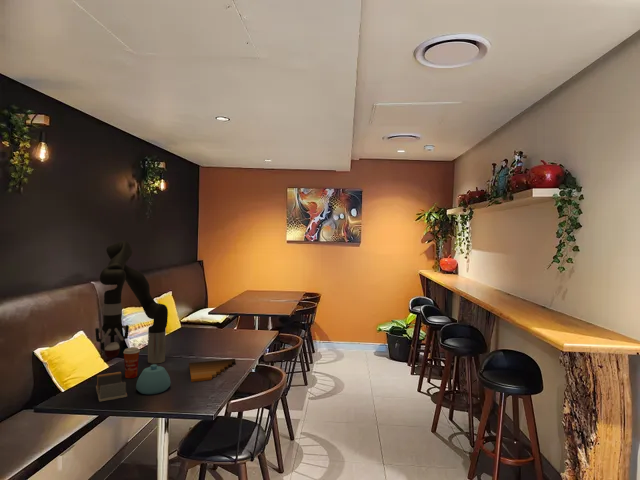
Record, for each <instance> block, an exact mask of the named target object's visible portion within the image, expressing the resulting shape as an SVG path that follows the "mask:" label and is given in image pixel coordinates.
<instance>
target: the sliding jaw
mask: <svg viewBox="0 0 640 480" xmlns="http://www.w3.org/2000/svg"><path fill="white" fill-rule="evenodd" d="M96 378H97V379H96V380H97V381H96V382H97V383H96V385H97V387H100V386H101V385H108V384H114V383H120V382H122V372H121V371H116V372H110V373H103V374H97V377H96Z"/></svg>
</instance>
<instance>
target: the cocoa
mask: <svg viewBox="0 0 640 480" xmlns="http://www.w3.org/2000/svg"><path fill="white" fill-rule="evenodd" d="M115 336H116V335H111V336H109V337H110V341H109V342H110V343H108V344H106V345H104V351H103V352H104V355H105V356H106V357H107V358H108V359H109V358H110V359H111V358H116V357H117V356H118V355H119V354H120V350H121V349H120V348H119V347H120V346H119V341H115V339H116V337H115Z"/></svg>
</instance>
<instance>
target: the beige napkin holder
mask: <svg viewBox="0 0 640 480" xmlns="http://www.w3.org/2000/svg"><path fill="white" fill-rule="evenodd" d="M95 391H96V394H97V398H98V402H104V401H111V400H117V399H121V398H123V399H124V398H126V397H127V398H128V393H127V382H126V381H121V382H120V383H114V384H108V385H101V386H100V387H97V384H96V385H95Z"/></svg>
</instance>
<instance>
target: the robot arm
mask: <svg viewBox="0 0 640 480" xmlns="http://www.w3.org/2000/svg"><path fill="white" fill-rule="evenodd" d="M105 251H106V254H107V255H108V258H109V259H110V261H109V262H108V265H107V266H106V267H105V268H103V270H101V272H100V274H99V282H100V283H101V284H102V285H105V286H113V285H114V286H116V287H115V288H113V289H112V288H111V289H107V290H105V291H104V295H103V309H102V310H103V311H102V313H103V314H102V320H103V321H102V327H95V329H94V331H95V341H96V342H97V343H99V344H100V350H101V351H102V352H104V347H105V341H106V340H107V338H108V337H110V336H111V335H115V336H117V337H118V338H119V341H118V343H119V346H120V347H119V348H120V350H121V349H122V348H123V347H124V341H125V340H126V339H128V338H129V330H130V326H129V324H125V325H123V324H122V320H123V319H122V316H123V315H122V314H123V311H122V310H123V309H122V308H123V307H122V292H123V288H124V285H125V282H126V283H127V285H128V286H129V288H130V291H132V293H133V294H134V296H135V297H136V299H137V300H138V302H139V303H140V305H141V307H142V310H143V312H144V313H145V315H146V317H147V318H148V319H151V320H153V322H152V323H153V324H152V325H150V326H148V328H147V331H148V333H147V363H148V364H151V365H153V364H156V365H157V364H161V363H164V362H165V361H166V329H167V326H168V320H169V319H168V316H169V311H168V306H167V305H165V304H164V303H157V302H156V301H155V300H154V298H153V297H152V295H151V293H150V292H151V290H150V284H149V283H150V282H149V281H148V280H147V278H146V277H145V275H144V274H143V273H142V272H141V271H140V270H137V269H135V268H133V267H130V266H128V264H127V262H128V261H129V260H130V258H131V257H132V256H133V249H132V247H131V244H130V243H129V242H128V241H127V240H122V241H118V242H116V243H113V244H111V245H109V246H107V247H106V249H105ZM122 330H124V336H122V334H121V331H122ZM102 331H103V335H102V337H101V338H100V333H101V332H102Z"/></svg>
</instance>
